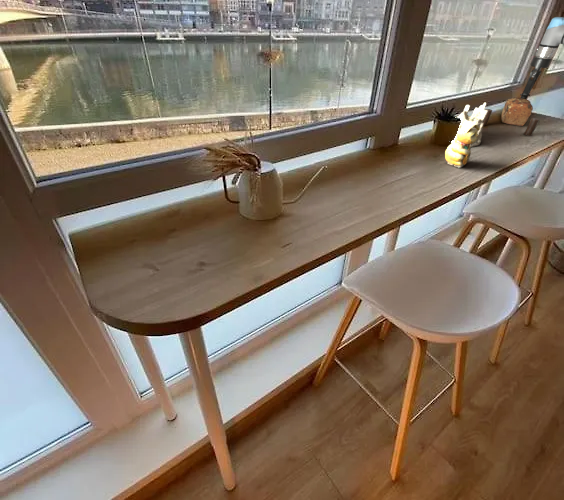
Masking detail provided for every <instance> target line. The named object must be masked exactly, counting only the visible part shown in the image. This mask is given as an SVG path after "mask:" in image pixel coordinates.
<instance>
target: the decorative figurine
mask: <svg viewBox="0 0 564 500" xmlns="http://www.w3.org/2000/svg"><path fill="white" fill-rule="evenodd" d="M476 123H477V121H474V122H472V123H470V124H469V125H468V126H467V127H463V128H461V129H460V130H459V131H458V133H457V139H456V140H455V142H453V143H452V142H451V143H450V144H449V145H448V146H447V148H446V149H445V152H444V157H445V161H446V162H447V165H450V166H453V167H456V168H458V169H460V168H463V167H464V166H465V165H467V163H468V161H469V160H470V158H471V153H472V151H471V148H472V147H471V145H470V144H472V143H473V142H475V141H476V140H477V139H478V134H477V133H478V130H480V125H477V124H476ZM475 124H476V125H475Z"/></svg>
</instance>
